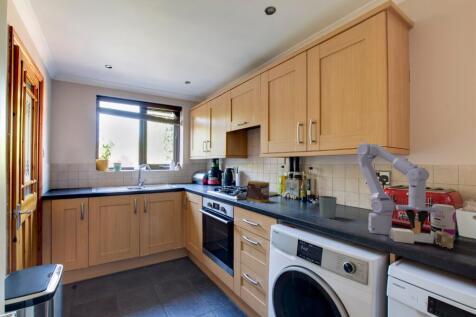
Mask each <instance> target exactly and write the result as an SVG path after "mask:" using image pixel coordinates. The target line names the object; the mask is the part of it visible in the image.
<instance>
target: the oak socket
mask: <svg viewBox="0 0 476 317" xmlns="http://www.w3.org/2000/svg"><path fill="white" fill-rule="evenodd" d="M435 244H437V245H438V244H439V246H440V247H441V246H442V247H441V248H443V247H447V248H446V249H451V248H453V249H454V240H453V236H452V235H450V234H448V233H447V232H442V231H436V239H435Z"/></svg>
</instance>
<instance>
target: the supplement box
mask: <svg viewBox="0 0 476 317" xmlns="http://www.w3.org/2000/svg"><path fill="white" fill-rule="evenodd" d="M246 184H247V186H246V188H247V191H246V200H247V201H250V202H256V203H264V202H265V203H266V202H269V201H270V198H269V197H270V182H269V181H262V180H247V183H246Z"/></svg>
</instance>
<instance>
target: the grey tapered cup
mask: <svg viewBox="0 0 476 317" xmlns="http://www.w3.org/2000/svg"><path fill="white" fill-rule="evenodd" d="M337 200H338V197H337V196H332V195H331V196H330V195H319V196H318V202H319V203H318V204H319V216H320V218H324V219H330V218H332V219H336V211H337Z"/></svg>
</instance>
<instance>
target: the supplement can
mask: <svg viewBox="0 0 476 317" xmlns="http://www.w3.org/2000/svg"><path fill="white" fill-rule="evenodd" d="M431 207H433V208H438V209H439V213H433V212H430V234H431V235H433V236H434V240H436V231H442V232H447V233H448V234H450V235H452V236H453V241H455V240H456V212H457V211H456V208H455V207H454V206H453V205H450V204H443V203H442V204H441V203H433V204H432V206H431Z"/></svg>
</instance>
